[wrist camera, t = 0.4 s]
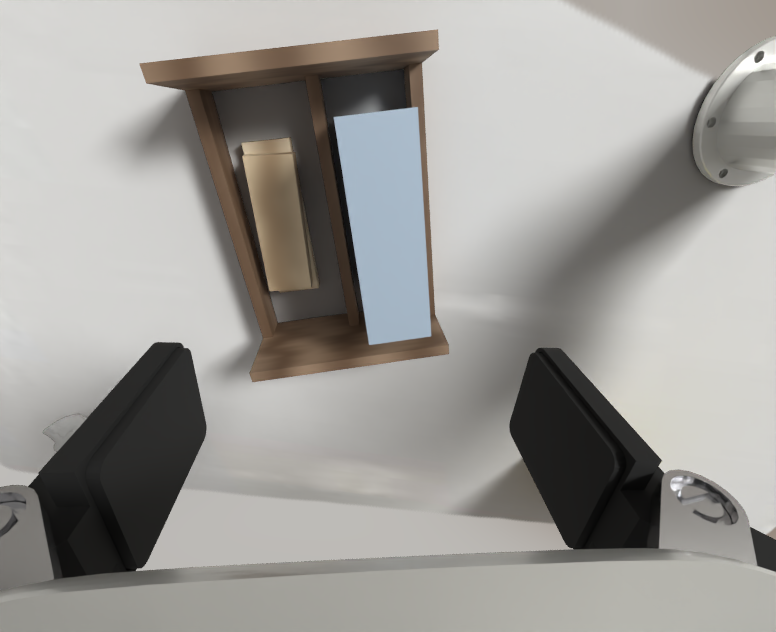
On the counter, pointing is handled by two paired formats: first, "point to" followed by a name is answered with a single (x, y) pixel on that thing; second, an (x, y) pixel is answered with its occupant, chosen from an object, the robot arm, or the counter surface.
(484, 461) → the counter surface
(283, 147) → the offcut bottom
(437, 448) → the counter surface
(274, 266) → the offcut top
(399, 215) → the blue-grey rectangular block
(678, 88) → the counter surface
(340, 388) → the counter surface
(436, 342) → the rack
